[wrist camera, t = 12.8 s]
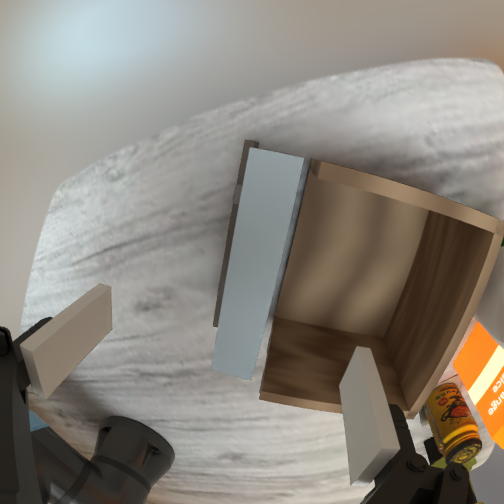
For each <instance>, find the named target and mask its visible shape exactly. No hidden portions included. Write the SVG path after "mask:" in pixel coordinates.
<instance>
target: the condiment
mask: <svg viewBox="0 0 504 504" xmlns="http://www.w3.org/2000/svg"><path fill="white" fill-rule="evenodd" d="M419 414H420V420H421V424H422V426H424V425H427V424H428V423H429V424H430V427H431V430H432V433H433V436H434V439H435V442H436V444H437V447H438V450H439V452H440V453H442V454H443V457H444V458H445V462H446V464H447V465H448V464H449V463H453V462H457V463H460V464H465V463H466V462H468V461H470V460H471V459H473V458H474V457H475V456H476V455H477V454H478V453H479V452H480V450H481V448H482V441H481V440H480V437H479V434H478V426H477V424H476V422H475V420H474V418H473V416H472V414H471V412H470V410H469V408H468V406H467V404H466V402H465V401H464V398H463V396H462V395H461V383H460V376H459V374H458V375H457V376H454V377H452V378H450V379H448V380H446V381H444V382H442V383H439V384H438V385H436V386H435V388H434V389H433V391H432V392H431V394H430V395H429V397H428V398H427V400H426V401H425V403H424V404H423V406H422V407H421V409H420V410H419Z"/></svg>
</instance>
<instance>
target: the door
mask: <svg viewBox="0 0 504 504" xmlns="http://www.w3.org/2000/svg"><path fill="white" fill-rule="evenodd" d="M303 161H304V158H302V157H299V156H294V155H290V154H285V153H280V152H275V151H270V150H265V149H258V148H252V147H250V150H249V155H248V160H247V165H246V170H245V176H244V181H243V185H239V184H237V186H236V188H235V191H234V196H233V203H234V204H239V208H238V213H237V219H236V225H235V230H234V236H233V241H232V247H231V253H230V258H229V264H228V270H227V276H226V281H225V287H224V293H223V299H222V305H221V311H220V317H219V323H218V329H217V336H216V342H215V348H214V354H213V361H212V367H211V370H212V371H215V372H219V373H223V374H227V375H231V376H235V377H239V378H243V379H247V380H251V379H252V375H253V372H254V368H255V364H256V360H257V356H258V353H259V349H260V345H261V341H262V337H263V333H264V329H265V325H266V321H267V317H268V313H269V309H270V305H271V301H272V297H273V293H274V289H275V285H276V281H277V276H278V272H279V268H280V264H281V260H282V255H283V251H284V247H285V243H286V238H287V234H288V230H289V225H290V221H291V216H292V212H293V207H294V203H295V198H296V194H297V189H298V185H299V180H300V175H301V171H302V166H303Z"/></svg>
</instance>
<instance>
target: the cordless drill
mask: <svg viewBox="0 0 504 504" xmlns="http://www.w3.org/2000/svg"><path fill="white" fill-rule="evenodd" d="M424 445H425V449H426V452H427V455H428V459H429V462H430V466H434V467H438V468H443V469H444V468H445V467H446V466H447V464H446V462H445V458H444V457H443V454H442V453H440V452H439V450H438V447H437V444H436V442H435V439H434V436H433V437H431V438H430V439H428V440H426V441H424ZM476 463H477V462H476V459H475V457H474V458H473V459H471V460H470V461H468V462H466V463H465V464H462V465H464V466H465V467H466V468H467V470H468V472H469V471H470V470H471V469H472V466H473V465H474V464H476ZM466 504H484V503H483V502H478V503H477V500H476V497H475V493H474V490H473V487H472V484H471V480H470V476H469V485H468V494H467V501H466Z"/></svg>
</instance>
